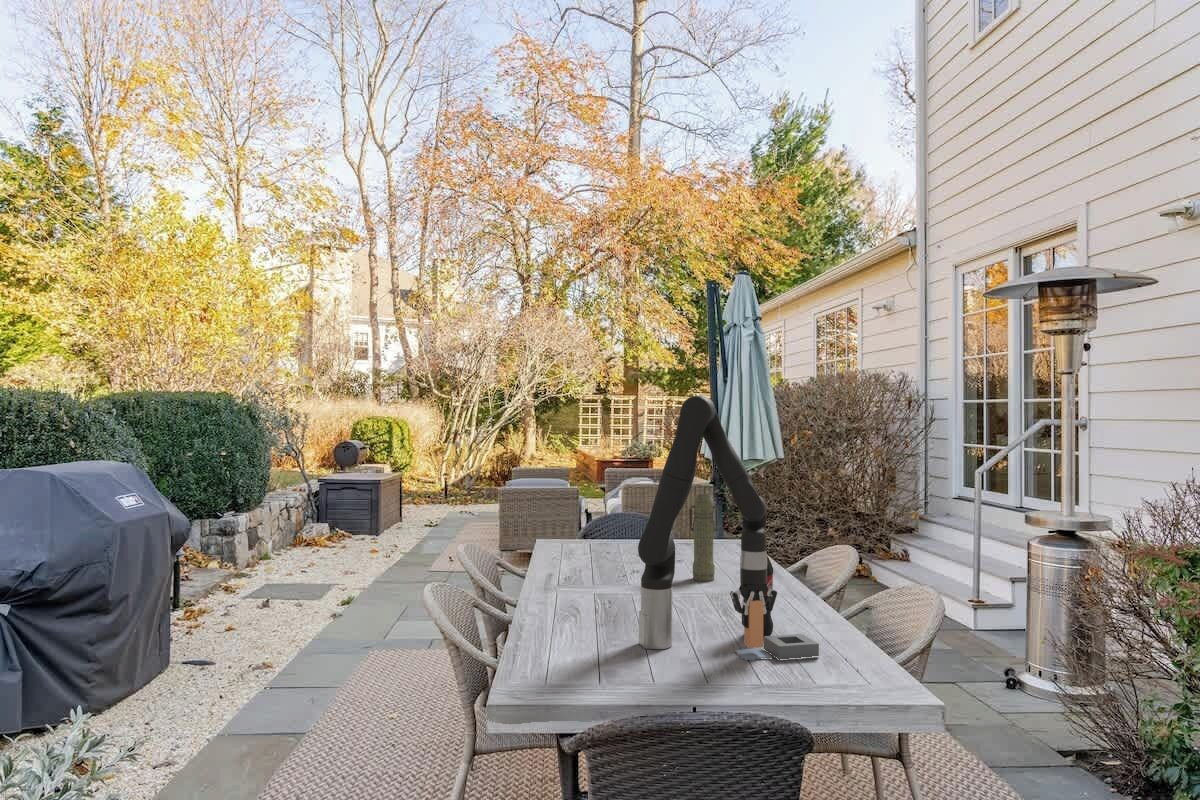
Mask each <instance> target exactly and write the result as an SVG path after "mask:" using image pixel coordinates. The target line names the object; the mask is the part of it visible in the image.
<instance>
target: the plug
mask: <svg viewBox="0 0 1200 800" xmlns="http://www.w3.org/2000/svg"><path fill="white" fill-rule="evenodd" d="M745 602H746V603H747V601H746V600H745ZM748 615H749V628H745V627H744V626H743V631H744V633H743V636H744V637H743V639H744V640H743V642H744V643H743V644H744V645H745V646H746V647H748V649H757V648H764V638H763V600H752V601H750V606H749V613H748Z"/></svg>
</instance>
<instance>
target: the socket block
mask: <svg viewBox="0 0 1200 800" xmlns="http://www.w3.org/2000/svg"><path fill="white" fill-rule="evenodd" d="M819 648H820V644H819V642H816V641H815V640H813V639H812V638H810V637H808V636H806V635H805V634H803V633H793V634H781V635H780V634H779V635H778V634H777V635H771V636H764V638H763V650H764V649H765V650H766V651H768V652H769V653H771V654H772V655H773V656H775V657H777V658H778V659H779V660H780V659H789V658H801V657H812V656H819V657H820V649H819ZM766 651H765V652H766ZM769 653H768V654H769ZM773 656H772V657H773ZM779 660H778V661H779Z"/></svg>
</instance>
